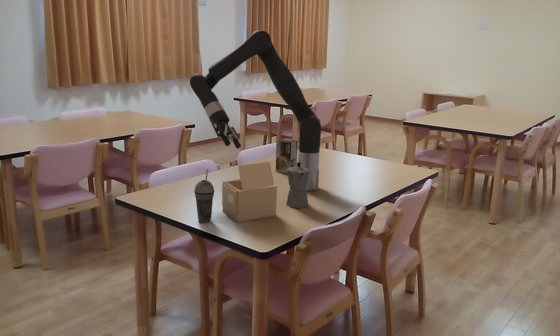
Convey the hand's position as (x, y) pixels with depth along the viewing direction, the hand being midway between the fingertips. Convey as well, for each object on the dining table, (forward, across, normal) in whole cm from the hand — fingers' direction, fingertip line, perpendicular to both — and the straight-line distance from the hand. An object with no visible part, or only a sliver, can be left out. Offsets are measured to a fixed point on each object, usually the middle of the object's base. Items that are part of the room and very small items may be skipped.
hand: (234, 146), depth 207 cm
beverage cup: (+26, -20, +16) cm, 36 cm away
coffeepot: (+32, +14, -6) cm, 35 cm away
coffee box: (+5, +55, +4) cm, 55 cm away
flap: (+25, -13, -6) cm, 29 cm away
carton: (+29, -6, +6) cm, 30 cm away
